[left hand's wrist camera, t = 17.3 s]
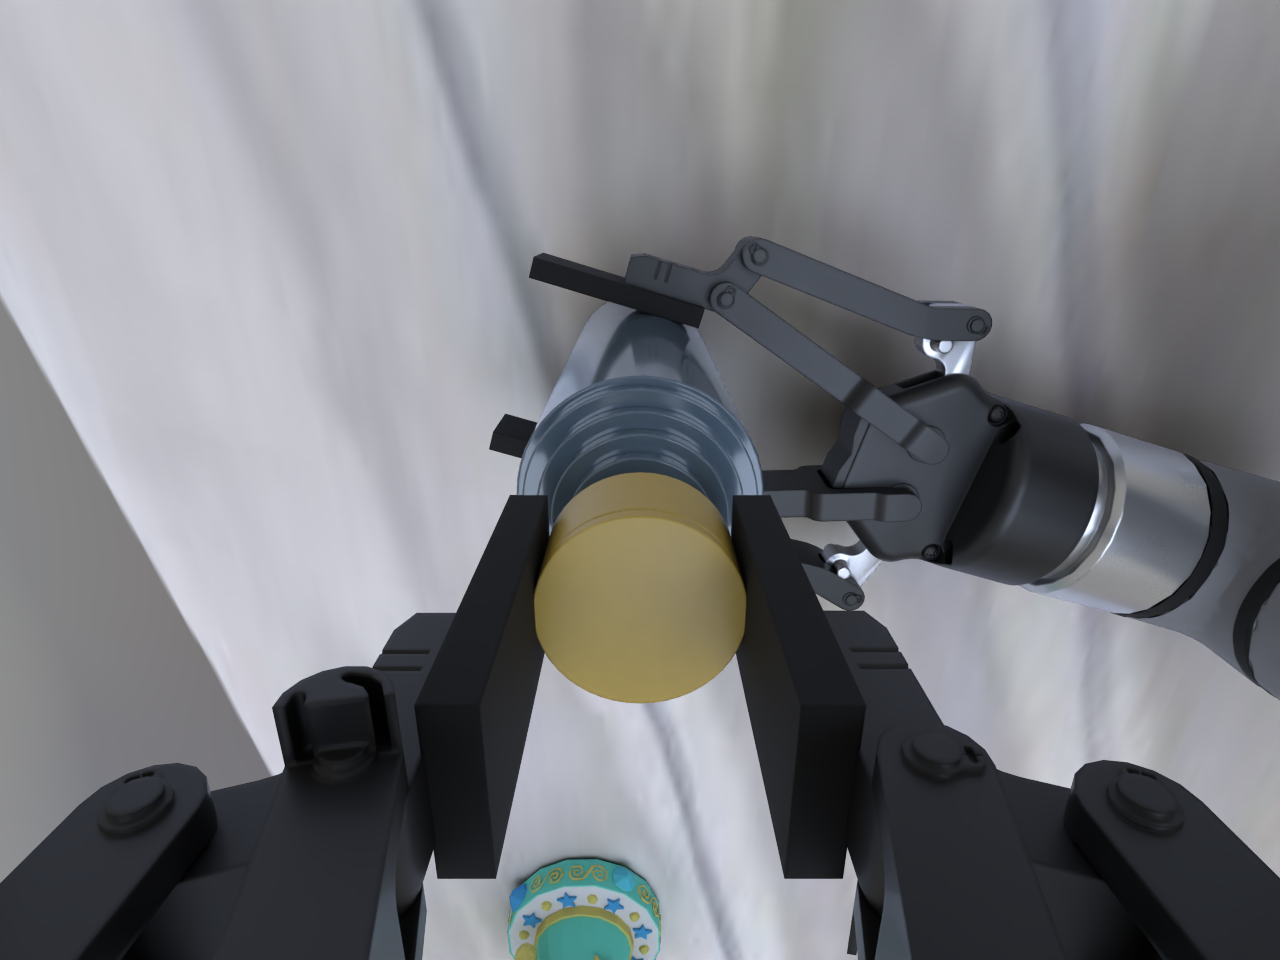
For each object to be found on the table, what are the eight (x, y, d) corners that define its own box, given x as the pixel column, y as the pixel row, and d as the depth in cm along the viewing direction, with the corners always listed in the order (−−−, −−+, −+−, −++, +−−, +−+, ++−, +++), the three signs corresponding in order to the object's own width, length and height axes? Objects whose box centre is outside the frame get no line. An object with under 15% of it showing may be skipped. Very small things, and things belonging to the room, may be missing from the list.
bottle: (714, 403, 35) (831, 702, 14) (594, 430, 36) (527, 761, 14) (688, 278, 33) (778, 404, 12) (562, 309, 34) (425, 485, 12)
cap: (658, 433, 14) (662, 473, 12) (768, 573, 15) (789, 632, 13) (508, 542, 15) (487, 598, 12) (623, 667, 16) (621, 737, 14)
